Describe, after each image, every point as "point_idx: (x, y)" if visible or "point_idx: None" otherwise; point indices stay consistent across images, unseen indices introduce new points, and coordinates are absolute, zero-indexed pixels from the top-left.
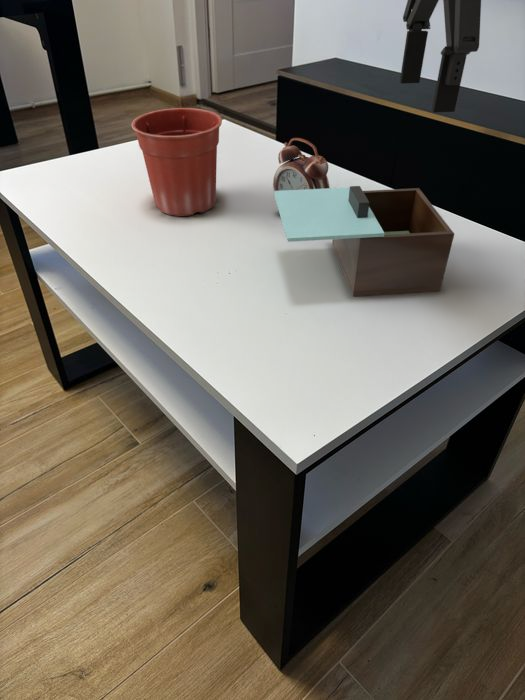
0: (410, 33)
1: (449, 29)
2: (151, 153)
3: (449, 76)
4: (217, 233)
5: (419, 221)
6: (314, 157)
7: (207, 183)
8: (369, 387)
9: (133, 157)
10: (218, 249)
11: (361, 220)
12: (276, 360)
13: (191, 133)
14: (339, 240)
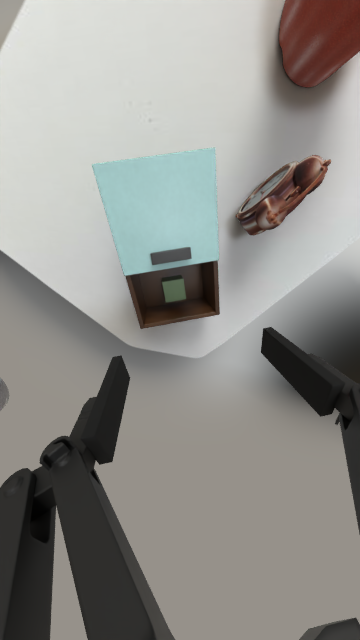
0: (329, 386)
1: (63, 511)
2: None
3: (81, 411)
4: (232, 97)
5: (192, 308)
6: (277, 208)
7: (314, 38)
8: (26, 252)
9: None
10: (197, 101)
11: (146, 256)
12: (28, 178)
13: None
14: None
